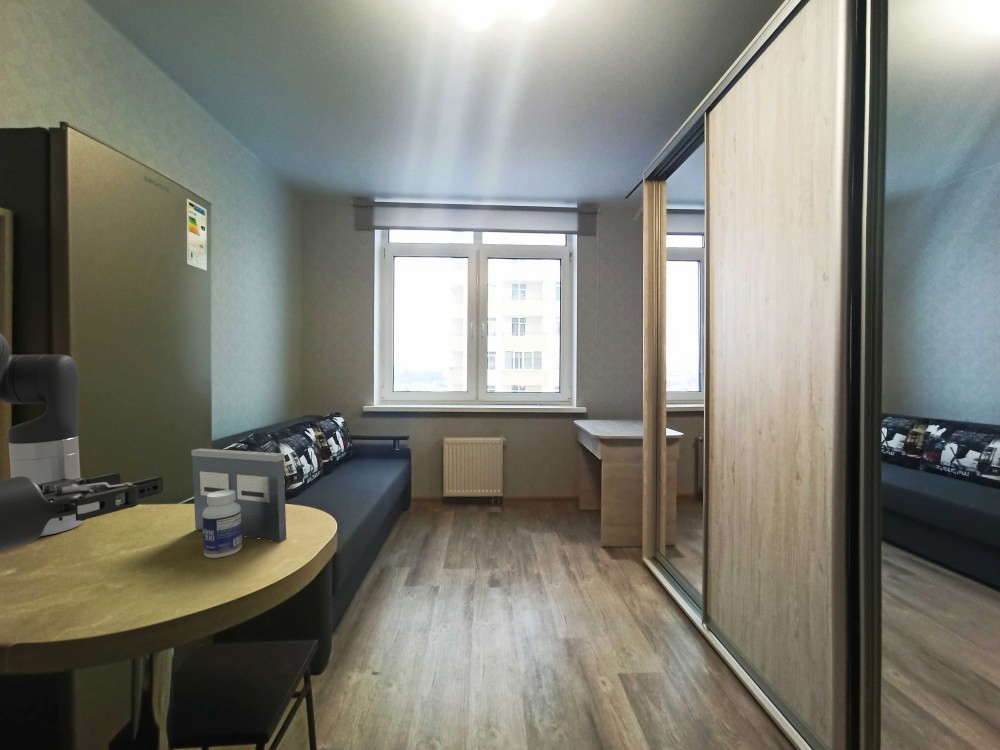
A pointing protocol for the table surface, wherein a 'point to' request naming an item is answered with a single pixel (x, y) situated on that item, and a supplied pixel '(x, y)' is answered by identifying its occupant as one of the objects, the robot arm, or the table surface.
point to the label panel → (244, 488)
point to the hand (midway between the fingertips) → (139, 482)
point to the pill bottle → (222, 524)
